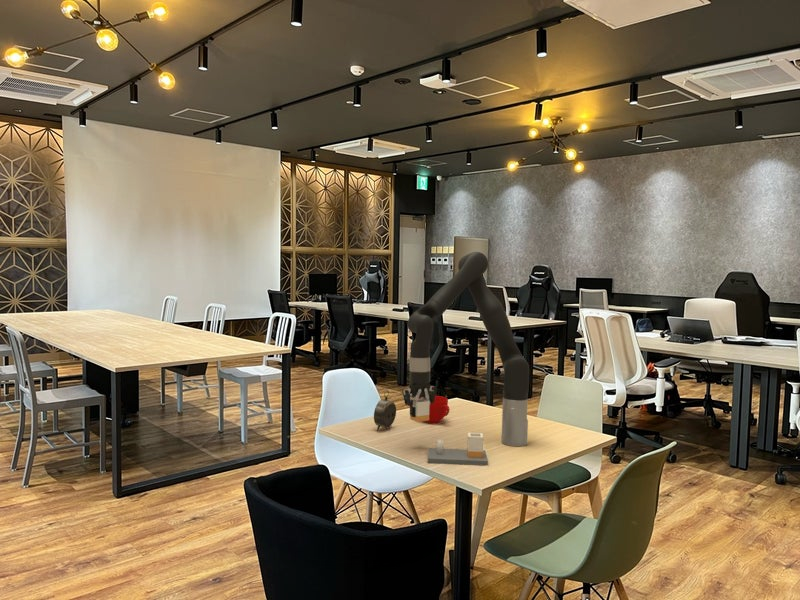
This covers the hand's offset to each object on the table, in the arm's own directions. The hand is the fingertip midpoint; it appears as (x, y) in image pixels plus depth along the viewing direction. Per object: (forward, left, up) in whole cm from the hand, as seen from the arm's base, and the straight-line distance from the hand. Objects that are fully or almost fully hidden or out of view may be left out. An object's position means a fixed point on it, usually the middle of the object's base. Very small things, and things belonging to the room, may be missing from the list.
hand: (419, 415), depth 214 cm
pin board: (-14, +11, -12) cm, 21 cm away
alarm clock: (+14, -23, -12) cm, 30 cm away
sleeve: (0, 0, -1) cm, 1 cm away
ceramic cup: (-6, -37, -12) cm, 40 cm away
